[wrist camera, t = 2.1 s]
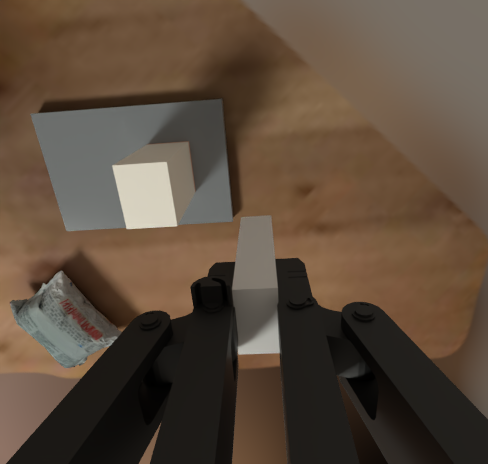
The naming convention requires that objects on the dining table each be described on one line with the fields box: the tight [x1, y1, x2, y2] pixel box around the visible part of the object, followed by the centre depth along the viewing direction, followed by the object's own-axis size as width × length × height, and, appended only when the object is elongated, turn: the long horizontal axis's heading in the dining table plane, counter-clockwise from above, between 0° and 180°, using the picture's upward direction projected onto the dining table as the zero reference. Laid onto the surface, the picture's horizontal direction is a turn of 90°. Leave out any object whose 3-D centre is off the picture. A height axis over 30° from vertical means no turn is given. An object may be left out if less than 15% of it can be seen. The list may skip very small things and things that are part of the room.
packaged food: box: [10, 271, 122, 368], centre depth 41 cm, size 9×12×5 cm
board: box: [31, 99, 233, 231], centre depth 35 cm, size 18×12×1 cm, turn 94°
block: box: [112, 141, 196, 229], centre depth 30 cm, size 4×5×9 cm
